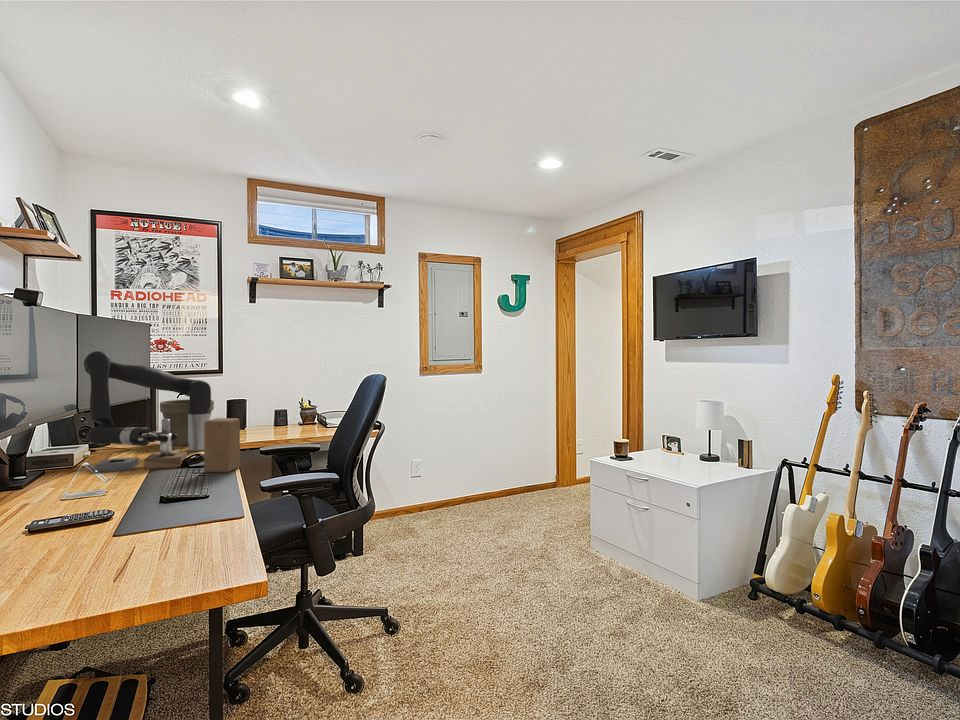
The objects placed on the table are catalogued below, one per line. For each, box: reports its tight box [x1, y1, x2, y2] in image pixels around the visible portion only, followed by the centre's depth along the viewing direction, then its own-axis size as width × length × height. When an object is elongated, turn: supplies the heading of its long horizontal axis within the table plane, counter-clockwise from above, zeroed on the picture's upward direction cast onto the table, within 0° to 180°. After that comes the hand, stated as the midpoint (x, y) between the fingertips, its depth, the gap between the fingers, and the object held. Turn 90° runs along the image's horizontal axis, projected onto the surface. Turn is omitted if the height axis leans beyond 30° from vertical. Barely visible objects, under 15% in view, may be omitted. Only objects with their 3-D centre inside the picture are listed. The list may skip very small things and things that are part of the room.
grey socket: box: [94, 457, 140, 473], centre depth 216 cm, size 12×12×3 cm
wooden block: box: [203, 417, 241, 473], centre depth 213 cm, size 10×10×20 cm
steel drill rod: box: [159, 418, 173, 457], centre depth 223 cm, size 4×4×18 cm
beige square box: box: [143, 451, 188, 470], centre depth 223 cm, size 13×13×4 cm
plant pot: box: [159, 398, 215, 446], centre depth 280 cm, size 25×25×22 cm
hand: (171, 437), depth 222 cm, fingers open, 4 cm apart
